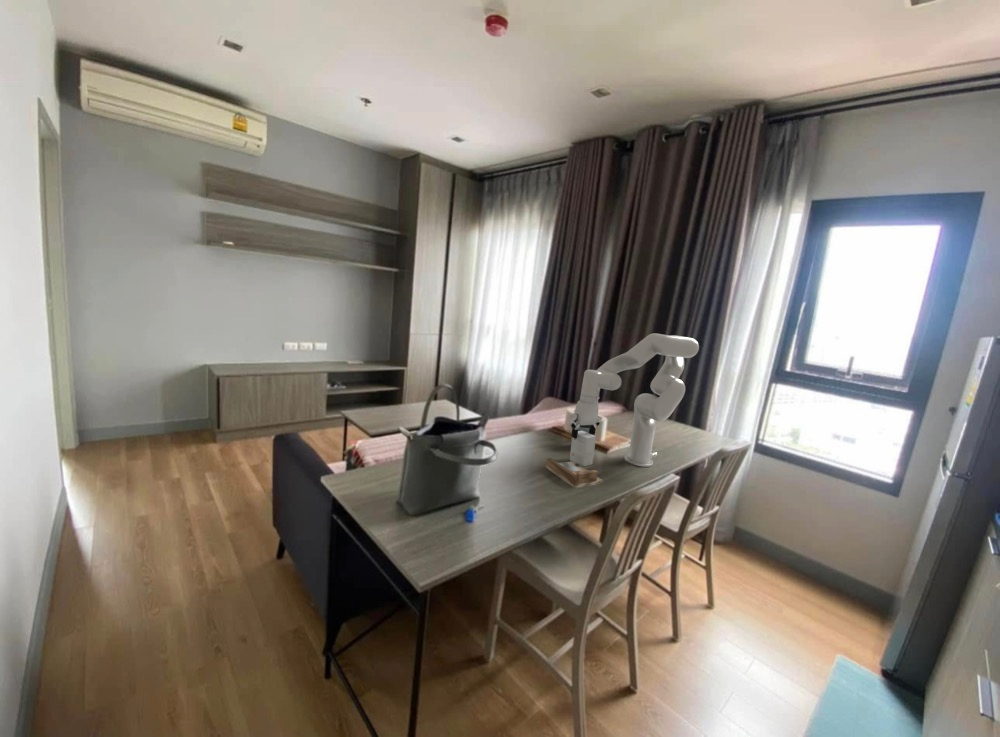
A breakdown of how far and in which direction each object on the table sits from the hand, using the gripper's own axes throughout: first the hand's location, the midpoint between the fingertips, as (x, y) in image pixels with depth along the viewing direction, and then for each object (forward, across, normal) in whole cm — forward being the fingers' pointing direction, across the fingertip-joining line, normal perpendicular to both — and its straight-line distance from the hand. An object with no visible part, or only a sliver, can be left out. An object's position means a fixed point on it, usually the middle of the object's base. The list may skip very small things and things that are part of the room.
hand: (582, 437), depth 178 cm
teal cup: (+12, -12, -14) cm, 22 cm away
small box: (+12, -1, 0) cm, 12 cm away
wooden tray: (+12, +11, +10) cm, 19 cm away
